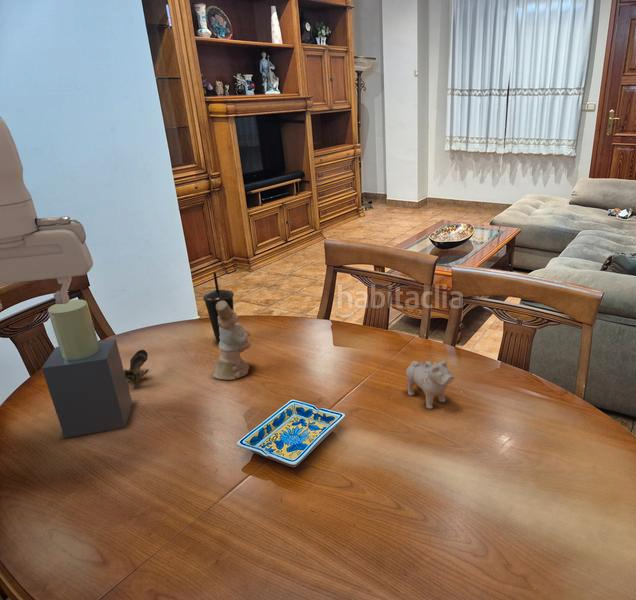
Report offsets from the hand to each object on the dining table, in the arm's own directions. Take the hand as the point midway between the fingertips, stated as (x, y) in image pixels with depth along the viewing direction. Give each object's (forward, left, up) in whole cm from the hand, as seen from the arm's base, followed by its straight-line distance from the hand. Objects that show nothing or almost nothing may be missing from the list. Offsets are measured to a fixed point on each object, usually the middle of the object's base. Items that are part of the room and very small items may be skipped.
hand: (29, 306), depth 81 cm
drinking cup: (+25, +44, -32) cm, 60 cm away
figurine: (+27, +26, -32) cm, 49 cm away
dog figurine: (+68, 0, -32) cm, 75 cm away
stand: (0, +15, -32) cm, 35 cm away
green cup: (0, +15, -6) cm, 16 cm away
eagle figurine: (+5, +30, -32) cm, 44 cm away
